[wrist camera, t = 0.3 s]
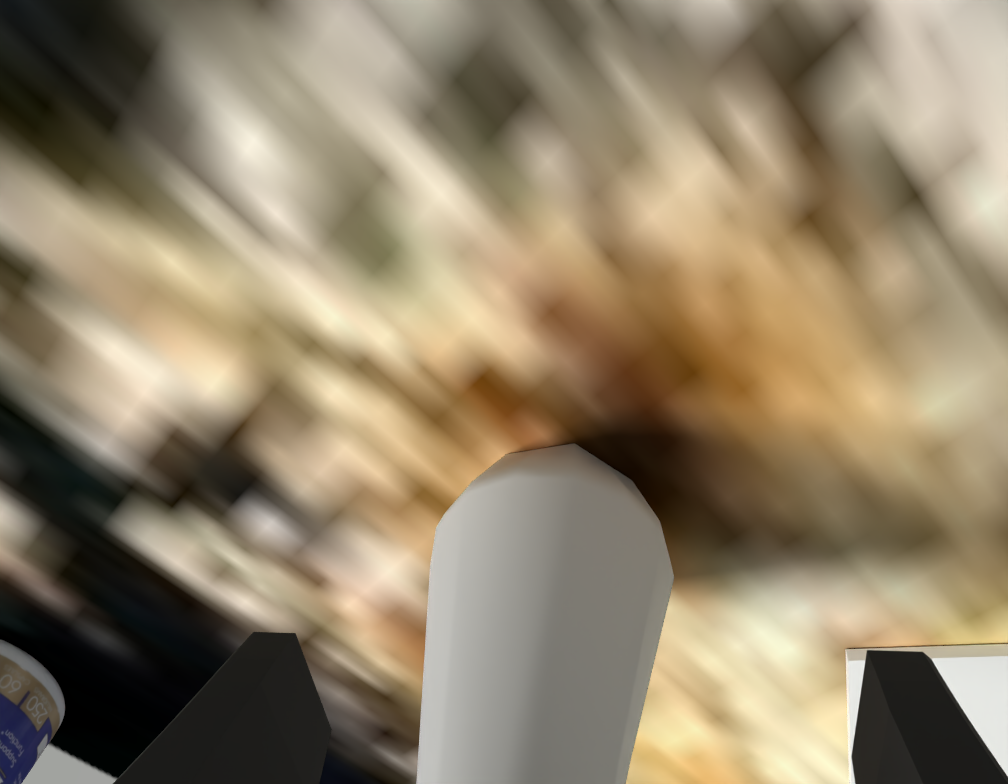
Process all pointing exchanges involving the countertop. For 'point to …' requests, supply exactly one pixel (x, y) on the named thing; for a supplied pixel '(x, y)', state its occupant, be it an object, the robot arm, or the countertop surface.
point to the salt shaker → (541, 624)
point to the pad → (952, 689)
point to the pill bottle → (25, 712)
